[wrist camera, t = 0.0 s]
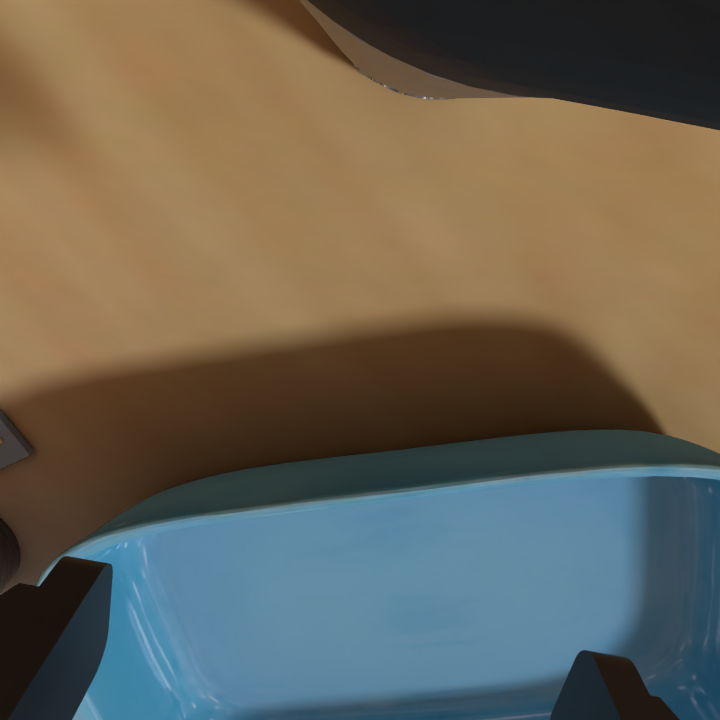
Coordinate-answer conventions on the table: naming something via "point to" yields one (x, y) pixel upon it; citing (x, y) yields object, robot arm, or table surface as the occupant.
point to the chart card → (11, 443)
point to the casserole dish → (415, 583)
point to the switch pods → (7, 555)
